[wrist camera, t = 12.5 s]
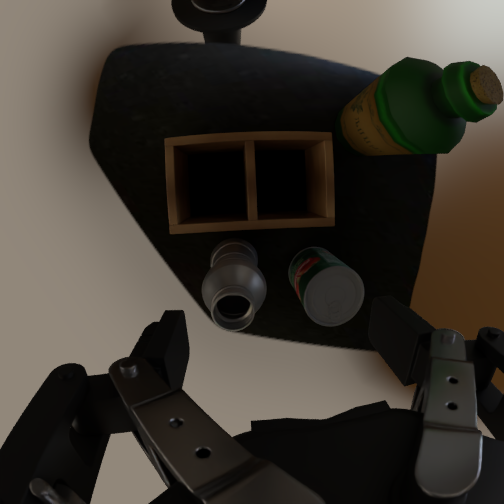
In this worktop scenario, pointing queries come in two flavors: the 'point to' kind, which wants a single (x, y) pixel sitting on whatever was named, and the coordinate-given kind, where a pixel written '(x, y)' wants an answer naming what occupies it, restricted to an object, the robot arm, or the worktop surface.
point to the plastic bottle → (234, 284)
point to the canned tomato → (326, 286)
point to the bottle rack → (251, 180)
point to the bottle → (418, 108)
